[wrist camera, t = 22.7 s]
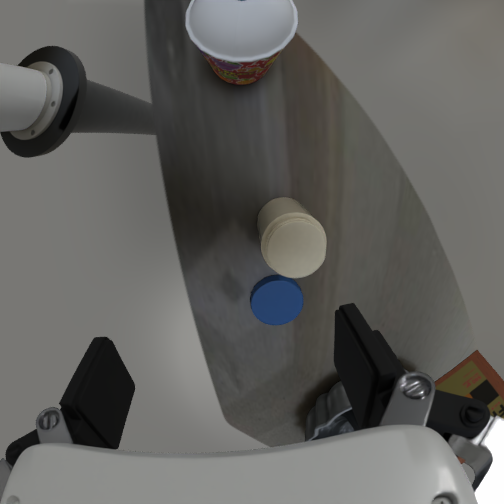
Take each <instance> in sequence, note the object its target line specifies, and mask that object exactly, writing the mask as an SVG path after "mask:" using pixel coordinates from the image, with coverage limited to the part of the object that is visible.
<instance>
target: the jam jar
mask: <svg viewBox="0 0 504 504" xmlns="http://www.w3.org/2000/svg"><path fill="white" fill-rule="evenodd" d="M257 230H258V235H259V241H260V246H261V251H262V255H263V258H264V260H265V261H266V263H267V264H268V265H269V266H270V267H271V268H272V269H273V270H274V271H275V272H277V273H279V274H280V275H282V276H285V277H288V278H300V277H305V276H307V275H309V274H312V273H313V272H314V271H316V270H317V269H318V268H319V267H320V266H321V264H322V263H323V261H324V259H325V257H326V256H325V253H326V234H325V231H324V229H323V227H322V226H321V224H320V223H319V222H318V221H317V220H316V219H315V218H314V217H313V216H312V214H311V213H310V212H309V211H308V210H307V209H306V208H305V207H304V206H303V205H302V204H301V203H300V202H298V201H296V200H294V199H292V198H287V197H281V198H276V199H273V200H271V201H269V202H268V203H267V204H265V205H264V206H263V208H262V209H261V211H260V212H259V214H258V218H257Z"/></svg>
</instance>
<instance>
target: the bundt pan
mask: <svg viewBox="0 0 504 504" xmlns="http://www.w3.org/2000/svg"><path fill="white" fill-rule="evenodd" d="M404 370H405V369H404ZM405 371H406V373H408V371H407V370H405ZM363 429H364V427H362V428H360V427H359V425H358V423H357V420H356V418H355V415H354V412H353V410H352V407H351V405H350V402H349V400H348V397H347V395H346V392H345V390H344V387H343V385H342V382H341V381H340V382H338V383H336V384H335V385H334V386H333V387H332V388H331V390H330V391H329V393H324V394H322V395H320V396H319V397H318V398H317V400H316V405H315V406H314V407H313V408H312V409H311V410H310V411H309V413H308V415H307V419H306V431H305V442H307V441H312V440H318V439H323V438H327V437H332V436H336V435H341V434H345V433H350V432H354V431H359V430H363Z"/></svg>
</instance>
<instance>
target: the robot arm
mask: <svg viewBox="0 0 504 504" xmlns="http://www.w3.org/2000/svg"><path fill="white" fill-rule="evenodd" d="M62 95H63V81H62V77H61V74H60V72H59V70H58V69H57V68H56V66H54V65H53V64H51V63H48V62H36V63H33V64H31V65H29V66H28V67H27V68H25V67H20V66H15V65H11V64H5V63H0V132H3V131H10V132H11V134H12V135H13V136H14V137H16V138H18V139H21V140H29V139H33V138H36V137H38V136H39V135H41V134H42V133H43V132H44V131H45V130H46V129H47V128H48V127H49V126H50V125H51V123H52V121H53V120H54V118H55V116H56V114H57V112H58V110H59V107H60V104H61V100H62ZM334 364H335V367H336V370H337V372H338V375H339V377H340V380H341V382H342V385H343V387H344V390H345V392H346V395H347V397H348V400H349V402H350V405H351V407H352V410H353V412H354V415H355V418H356V420H357V423H358V425H359V427H360V428H362V427H364V429H363V430H359V431H354V432H350V433H345V434H341V435H336V436H332V437H327V438H323V439H318V440H312V441H307V442H301V443H296V444H290V445H284V446H277V447H270V448H263V449H254V450H244V451H231V452H216V453H152V452H136V451H125V450H115V449H118V447H119V443H120V440H121V436H122V433H123V429H124V425H125V422H126V418H127V415H128V411H129V408H130V405H131V401H132V397H133V395H134V391H135V384H134V382H133V380H132V378H131V376H130V374H129V373H128V371H127V369H126V367H125V365H124V363H123V361H122V360H121V357H120V356H119V354H118V351H117V350H116V347H115V345H114V344H113V342H112V341H111V340H109V338H107V337H96V338H94V339H93V341H92V342H91V344H90V346H89V348H88V349H87V352H86V353H85V355H84V357H83V358H82V360H81V362H80V364H79V366H78V368H77V370H76V371H75V373H74V375H73V377H72V379H71V381H70V383H69V385H68V387H67V389H66V391H65V393H64V395H63V397H62V399H61V401H60V403H59V404H60V405H61V409H60V410H59V409H58V408H55V407H50V408H47V409H45V410H43V411H42V412H41V413H40V414H39V415H38V417H37V420H36V428H37V429H35V430H34V431H32V432H30V433H28V434H27V435H25V436H23V437H21V438H19V439H18V440H16V441H14V442H12V443H11V444H10V445H9V446H8V448H7V450H6V460H5V459H4V458H2V459H1V460H0V504H504V419H503V418H501V417H499V416H496V417H495V418H494V417H492V416H491V415H490V410H489V408H488V407H487V405H486V404H485V403H483V402H482V401H480V400H477V399H473V398H468V397H464V396H460V395H456V394H452V393H448V392H444V391H440V390H436V389H435V387H436V385H435V383H434V380H433V379H432V378H431V377H430V376H429V375H427V374H425V373H422V372H416V371H414V372H408V373H406V371H405V370H404V368H403V367H402V365H401V363H400V362H399V360H398V359H397V357H396V356H395V354H394V353H393V351H392V349H391V348H390V346H389V345H388V343H387V342H386V340H385V339H384V337H383V336H382V334H381V333H380V332H379V331H378V330H374V331H372V330H371V328H370V327H369V325H368V324H367V322H366V320H365V319H364V317H363V316H362V314H361V313H360V311H359V310H358V308H357V307H356V305H355V304H354V303H351V304H346V305H341V306H340V307H339V310H336V311H335V341H334ZM457 457H461V458H462V459H464V460H466V461H465V462H464V463H466V464H467V465H469V466H470V467H471V468H472V469H473V470H474V473H475V480H474V482H473V484H472V486H471V484H470V482H469V479H468V478H467V476H466V473H465V471H464V469H463V467H462V465H461V464H460V462H459V460H458V458H457ZM433 499H434V500H433Z"/></svg>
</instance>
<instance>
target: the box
mask: <svg viewBox="0 0 504 504" xmlns="http://www.w3.org/2000/svg"><path fill="white" fill-rule="evenodd" d="M434 383H435V385H436V387H435V389H436V390H440V391H444V392H448V393H452V394H456V395H460V396H464V397H468V398H473V399H477V400H480V401H482V402H483V403H485V404H486V405H487V407H488V408H489V410H490V415H491V416H492V417H494V418H495V417H496V416H499V417H501V418H503V419H504V381H503V380H502V378H501V377H500V376H499V375H498V374H497V372H496V371H495V370H494V369H493V368H492V366H491V365H490V364H489V363H488V362H487V361H486V360H485V358H484V357H483V356H482V355H481V354H480V353H479V351H478V350H476V351H475V352H474V353H473V354H471V355H470V356H469V357H468V358H466V359H465V360H464V361H463V362H461V363H460V364H459V365H457V366H456V367H455V368H453V369H452V370H451V371H449V372H448V373H447V374H445V375H444V376H442V377H441V378H440V379H438V380H437V381H435V382H434ZM457 458H458V460H459V462H460V464H462V463H464V462H465V461H466V460H464V459H462V458H461V457H457Z"/></svg>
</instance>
